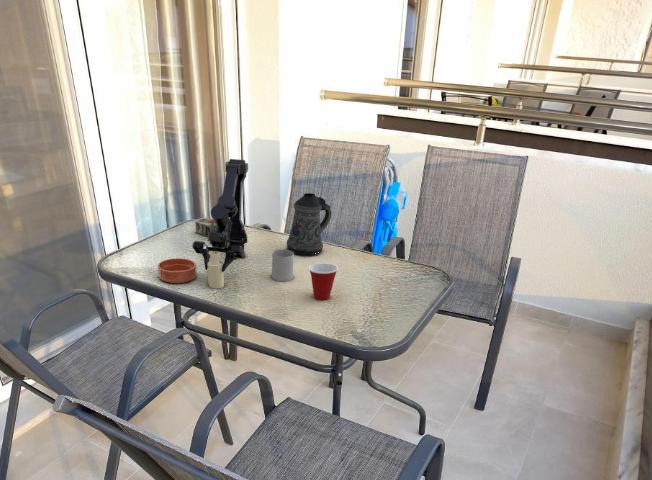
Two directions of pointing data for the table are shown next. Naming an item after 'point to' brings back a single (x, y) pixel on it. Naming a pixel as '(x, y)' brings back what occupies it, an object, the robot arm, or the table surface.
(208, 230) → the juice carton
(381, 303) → the table surface
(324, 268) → the plastic cup
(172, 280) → the bowl
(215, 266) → the bottle
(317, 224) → the beer stein
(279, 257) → the cup
